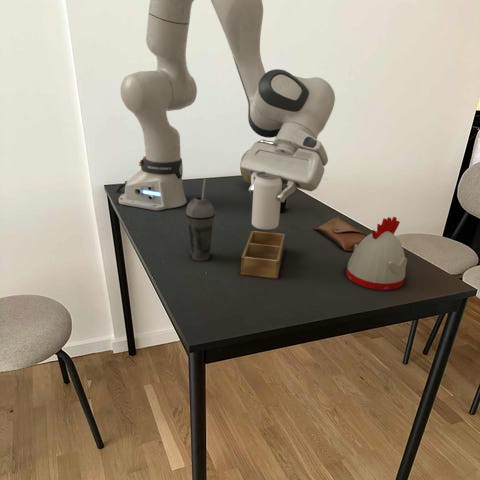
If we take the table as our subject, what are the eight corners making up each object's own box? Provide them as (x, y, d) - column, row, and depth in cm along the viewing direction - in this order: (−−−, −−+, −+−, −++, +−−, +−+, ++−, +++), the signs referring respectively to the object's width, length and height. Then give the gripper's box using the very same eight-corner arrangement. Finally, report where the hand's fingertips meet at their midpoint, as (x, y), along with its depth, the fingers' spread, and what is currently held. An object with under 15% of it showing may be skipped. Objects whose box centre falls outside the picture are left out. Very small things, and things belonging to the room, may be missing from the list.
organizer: (240, 274, 111) (241, 257, 108) (250, 246, 126) (251, 230, 123) (277, 278, 110) (279, 261, 107) (283, 249, 124) (285, 234, 122)
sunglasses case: (312, 227, 138) (324, 208, 136) (327, 236, 142) (340, 217, 140) (345, 251, 124) (360, 230, 122) (361, 260, 128) (375, 240, 126)
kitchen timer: (415, 281, 112) (431, 223, 104) (376, 295, 105) (390, 233, 97) (373, 260, 121) (385, 204, 113) (334, 271, 115) (344, 213, 107)
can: (276, 232, 106) (281, 179, 99) (249, 229, 107) (251, 177, 100) (280, 222, 111) (284, 172, 105) (254, 219, 112) (256, 169, 106)
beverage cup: (182, 253, 120) (180, 176, 109) (208, 249, 122) (209, 174, 112) (191, 264, 114) (190, 184, 104) (218, 261, 117) (220, 182, 106)
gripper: (252, 129, 109) (224, 179, 107) (327, 144, 98) (298, 199, 97) (261, 146, 114) (236, 194, 113) (334, 162, 104) (307, 214, 102)
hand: (265, 196), depth 105 cm, fingers closed on can, 6 cm apart
